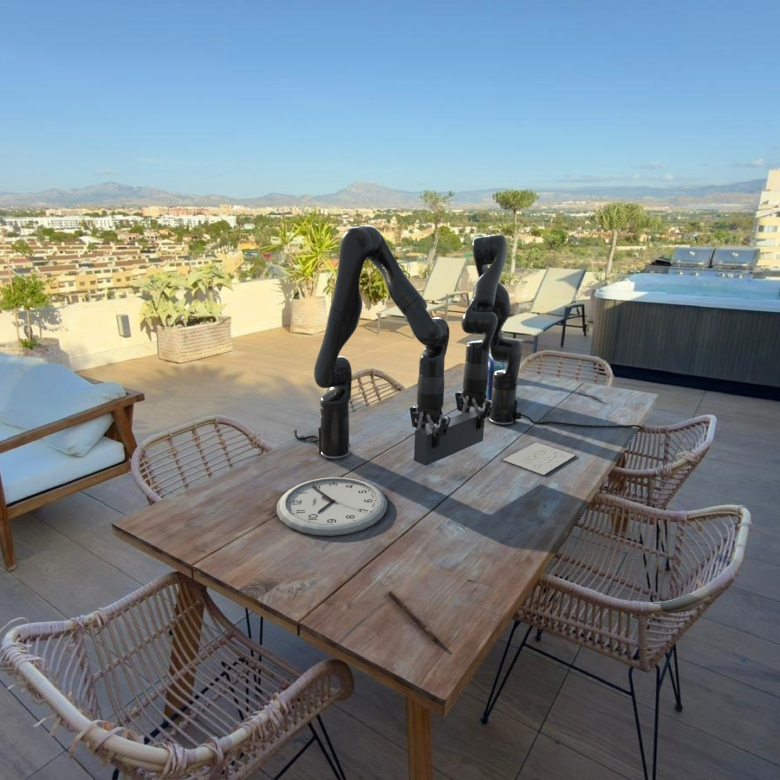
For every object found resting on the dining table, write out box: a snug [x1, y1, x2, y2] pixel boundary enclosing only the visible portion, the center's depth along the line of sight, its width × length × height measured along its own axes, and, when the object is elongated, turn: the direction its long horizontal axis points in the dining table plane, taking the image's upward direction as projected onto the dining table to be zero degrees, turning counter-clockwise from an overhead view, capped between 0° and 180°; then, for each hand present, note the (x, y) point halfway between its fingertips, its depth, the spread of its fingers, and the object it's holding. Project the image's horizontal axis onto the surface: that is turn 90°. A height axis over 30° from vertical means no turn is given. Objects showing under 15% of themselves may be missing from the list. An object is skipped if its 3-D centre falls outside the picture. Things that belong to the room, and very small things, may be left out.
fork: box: [579, 387, 603, 403], centre depth 238 cm, size 3×16×2 cm, turn 15°
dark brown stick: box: [388, 590, 436, 642], centre depth 102 cm, size 15×1×1 cm, turn 34°
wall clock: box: [276, 476, 388, 537], centre depth 142 cm, size 30×2×30 cm
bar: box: [413, 409, 486, 467], centre depth 160 cm, size 28×5×10 cm, turn 134°
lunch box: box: [486, 351, 508, 401], centre depth 230 cm, size 26×11×21 cm, turn 179°
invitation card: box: [502, 442, 577, 476], centre depth 174 cm, size 21×1×15 cm
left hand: (428, 444), depth 152 cm, fingers closed on bar, 4 cm apart
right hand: (472, 426), depth 167 cm, fingers closed on bar, 4 cm apart
